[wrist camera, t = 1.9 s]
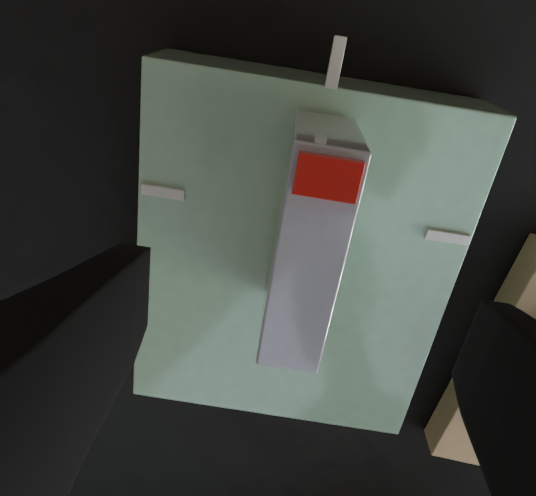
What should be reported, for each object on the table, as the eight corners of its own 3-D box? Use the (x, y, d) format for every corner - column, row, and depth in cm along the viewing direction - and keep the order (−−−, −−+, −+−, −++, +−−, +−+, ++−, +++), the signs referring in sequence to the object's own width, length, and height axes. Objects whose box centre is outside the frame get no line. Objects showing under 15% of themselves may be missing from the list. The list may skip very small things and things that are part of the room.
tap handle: (314, 301, 17) (318, 380, 13) (264, 294, 17) (254, 370, 13) (355, 117, 14) (374, 155, 11) (295, 108, 14) (294, 142, 11)
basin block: (386, 384, 22) (399, 438, 20) (152, 348, 22) (131, 397, 19) (496, 57, 16) (539, 68, 13) (168, 4, 16) (140, 3, 13)
